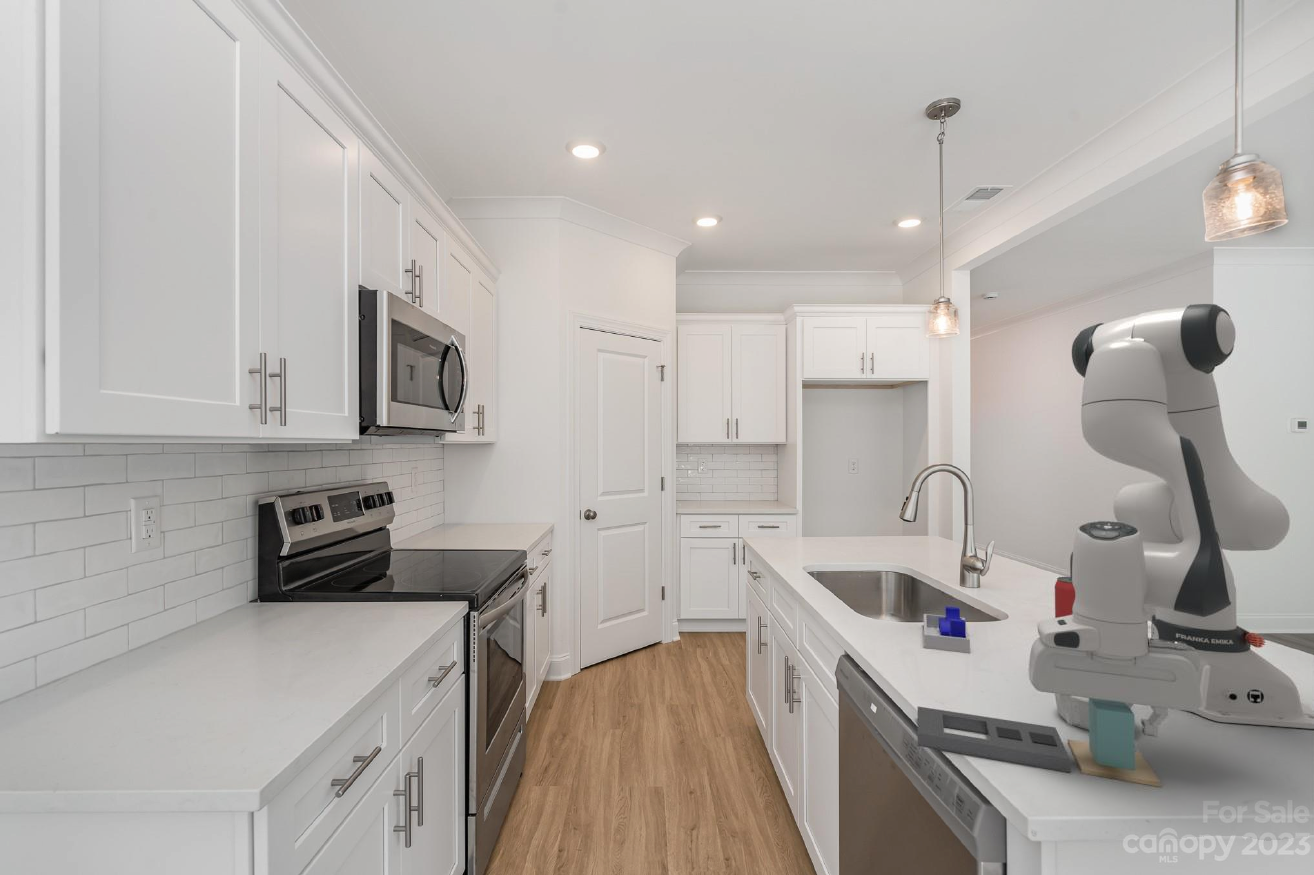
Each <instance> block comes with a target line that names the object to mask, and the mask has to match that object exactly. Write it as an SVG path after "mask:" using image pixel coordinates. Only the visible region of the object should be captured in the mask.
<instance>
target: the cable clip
mask: <svg viewBox="0 0 1314 875" xmlns="http://www.w3.org/2000/svg"><path fill="white" fill-rule="evenodd" d="M944 610H945V611H944V613H945V615H944V616H946V619H945V618H939V628H938V632H939V634H940V636H949V637H958V638H966V626H967V623H966V619H965V620H960V617H961V613H960V611H961V610H960V607H959V606H958V607H956V606H945V609H944Z"/></svg>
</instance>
